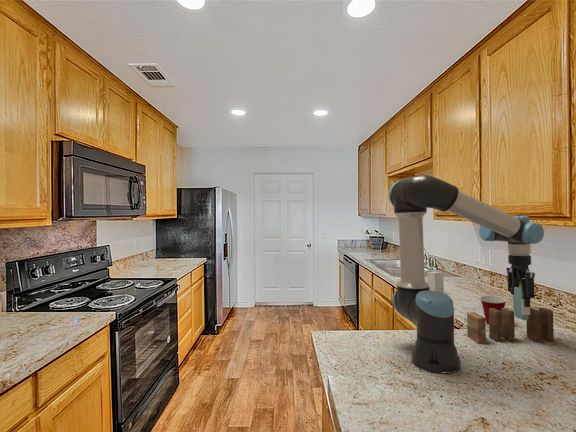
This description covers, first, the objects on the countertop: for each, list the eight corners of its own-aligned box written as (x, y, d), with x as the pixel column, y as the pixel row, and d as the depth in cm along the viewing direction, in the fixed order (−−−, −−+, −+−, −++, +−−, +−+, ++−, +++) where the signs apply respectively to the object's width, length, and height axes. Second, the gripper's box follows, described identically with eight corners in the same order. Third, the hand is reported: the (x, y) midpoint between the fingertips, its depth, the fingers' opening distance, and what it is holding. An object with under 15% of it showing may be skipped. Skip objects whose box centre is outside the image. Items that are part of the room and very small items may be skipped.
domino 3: (519, 316, 137) (518, 286, 137) (528, 320, 132) (527, 289, 132) (514, 316, 137) (513, 286, 137) (523, 320, 132) (522, 289, 132)
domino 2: (509, 342, 132) (509, 311, 132) (501, 337, 137) (501, 308, 137) (514, 342, 132) (514, 311, 132) (506, 337, 137) (506, 307, 137)
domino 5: (548, 341, 132) (547, 311, 132) (539, 337, 137) (538, 307, 137) (553, 341, 132) (553, 310, 132) (544, 337, 137) (543, 307, 137)
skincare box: (435, 297, 203) (434, 273, 203) (426, 295, 209) (426, 271, 209) (444, 296, 207) (444, 271, 207) (436, 294, 213) (435, 270, 213)
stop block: (478, 343, 131) (477, 318, 131) (467, 336, 139) (467, 312, 139) (485, 343, 131) (485, 318, 131) (474, 336, 139) (474, 312, 139)
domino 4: (535, 341, 132) (534, 311, 132) (526, 337, 137) (526, 307, 137) (540, 341, 132) (540, 311, 132) (531, 337, 137) (531, 307, 137)
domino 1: (496, 342, 132) (496, 311, 132) (489, 337, 137) (488, 308, 137) (501, 342, 132) (501, 311, 132) (494, 337, 137) (493, 308, 137)
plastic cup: (477, 325, 153) (477, 298, 153) (481, 318, 161) (481, 293, 161) (506, 329, 146) (505, 301, 146) (508, 323, 155) (508, 296, 155)
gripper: (545, 256, 125) (547, 319, 126) (514, 251, 143) (515, 306, 144) (525, 257, 126) (527, 319, 126) (496, 252, 144) (498, 306, 144)
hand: (521, 312), depth 135 cm, fingers closed on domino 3, 5 cm apart
